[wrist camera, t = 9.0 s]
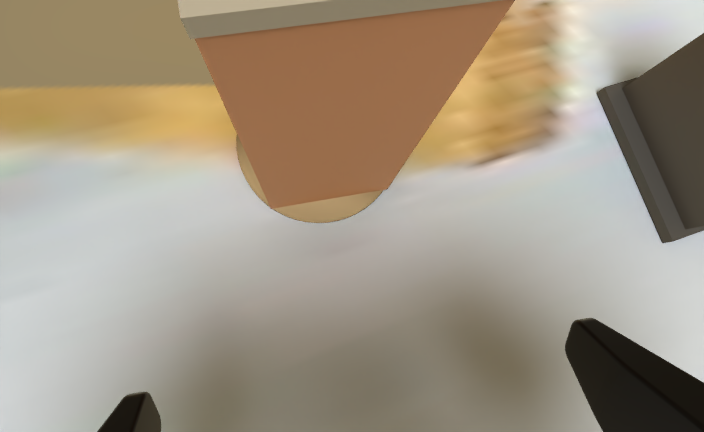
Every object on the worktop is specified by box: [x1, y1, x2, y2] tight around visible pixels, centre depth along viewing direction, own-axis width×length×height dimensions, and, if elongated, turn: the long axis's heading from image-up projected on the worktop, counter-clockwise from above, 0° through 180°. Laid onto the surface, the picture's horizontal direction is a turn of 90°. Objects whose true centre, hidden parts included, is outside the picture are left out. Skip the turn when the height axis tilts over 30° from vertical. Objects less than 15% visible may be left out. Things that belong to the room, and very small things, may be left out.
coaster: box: [236, 134, 383, 223], centre depth 20 cm, size 7×7×1 cm
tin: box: [178, 0, 515, 209], centre depth 13 cm, size 5×5×13 cm
